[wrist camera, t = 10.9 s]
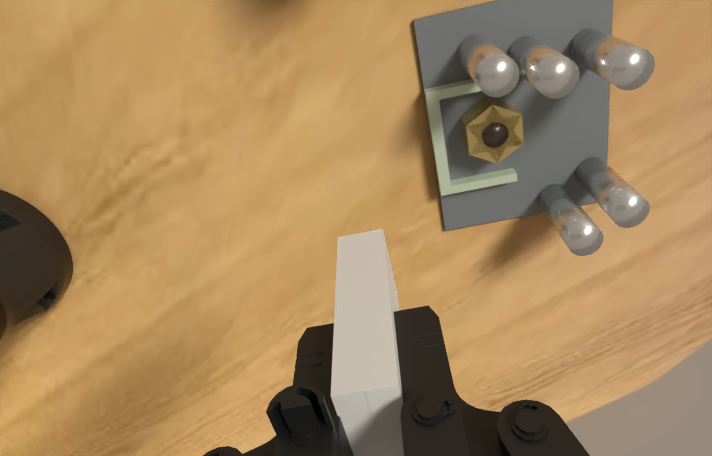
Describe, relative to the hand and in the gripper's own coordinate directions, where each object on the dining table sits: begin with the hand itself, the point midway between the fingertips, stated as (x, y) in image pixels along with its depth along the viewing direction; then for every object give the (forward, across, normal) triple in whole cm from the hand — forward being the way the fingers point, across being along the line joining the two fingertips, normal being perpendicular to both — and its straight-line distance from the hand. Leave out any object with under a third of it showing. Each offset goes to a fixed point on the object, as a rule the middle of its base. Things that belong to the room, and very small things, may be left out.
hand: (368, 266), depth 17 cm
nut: (+29, +10, -8) cm, 32 cm away
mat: (+29, +13, -8) cm, 33 cm away
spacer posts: (+29, +14, -8) cm, 33 cm away
